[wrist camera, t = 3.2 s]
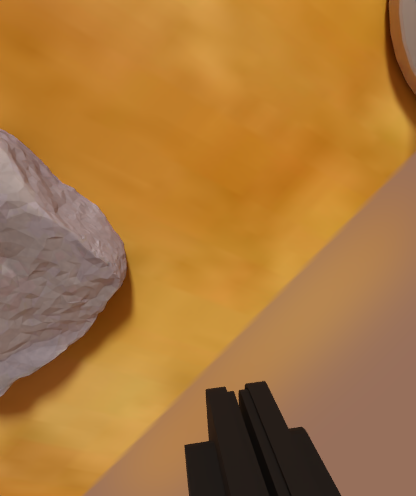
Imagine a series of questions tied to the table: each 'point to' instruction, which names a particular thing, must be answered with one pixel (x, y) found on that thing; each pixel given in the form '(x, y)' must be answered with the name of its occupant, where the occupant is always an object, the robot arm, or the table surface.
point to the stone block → (48, 263)
